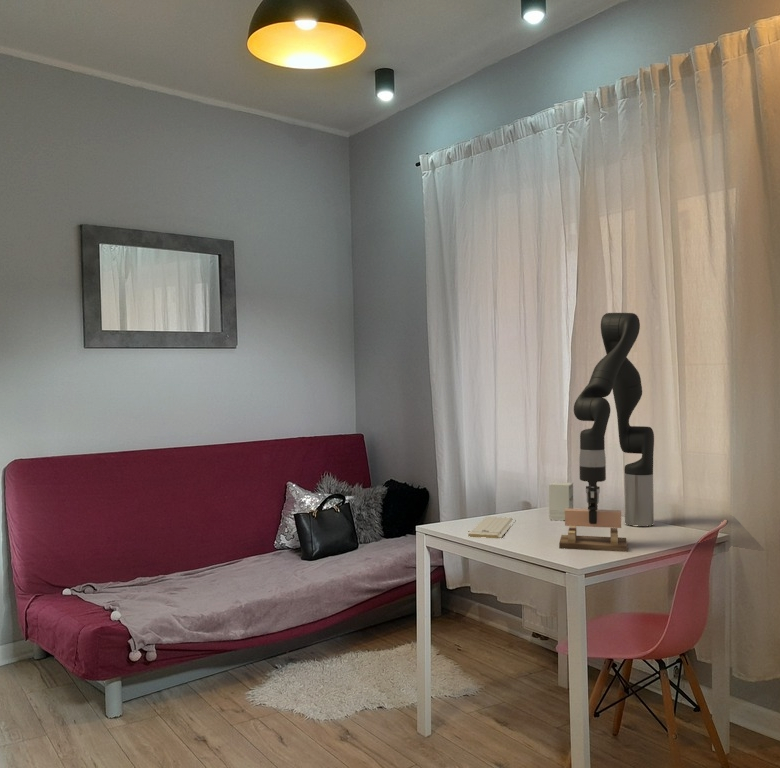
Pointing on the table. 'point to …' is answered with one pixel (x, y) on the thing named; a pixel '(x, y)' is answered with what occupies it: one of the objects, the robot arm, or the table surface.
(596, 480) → the robot arm
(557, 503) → the supplement box
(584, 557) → the table surface
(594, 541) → the cleated wooden board
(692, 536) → the table surface
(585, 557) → the table surface
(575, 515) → the clay bar
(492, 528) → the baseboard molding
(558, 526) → the table surface
